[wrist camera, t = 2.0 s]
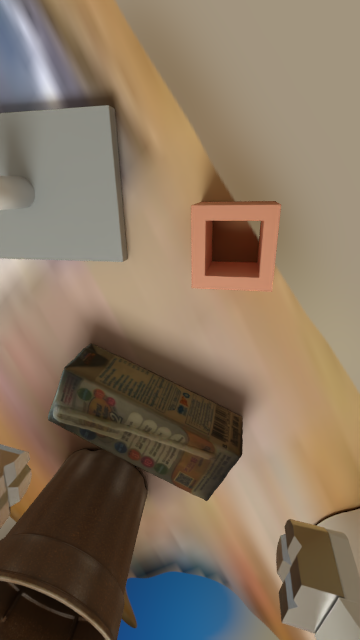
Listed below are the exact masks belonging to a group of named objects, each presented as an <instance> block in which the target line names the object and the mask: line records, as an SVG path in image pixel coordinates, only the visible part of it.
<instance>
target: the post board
mask: <svg viewBox="0 0 360 640" xmlns="http://www.w3.org/2000/svg"><path fill="white" fill-rule="evenodd" d="M0 258H7V259H42V260H77V261H111V262H123V261H125V260H127V247H126V235H125V223H124V212H123V200H122V188H121V177H120V165H119V153H118V141H117V130H116V118H115V109H114V108H113V107H111V106H109V105H105V106H91V107H78V108H64V109H51V110H37V111H23V112H10V113H0Z"/></svg>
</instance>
